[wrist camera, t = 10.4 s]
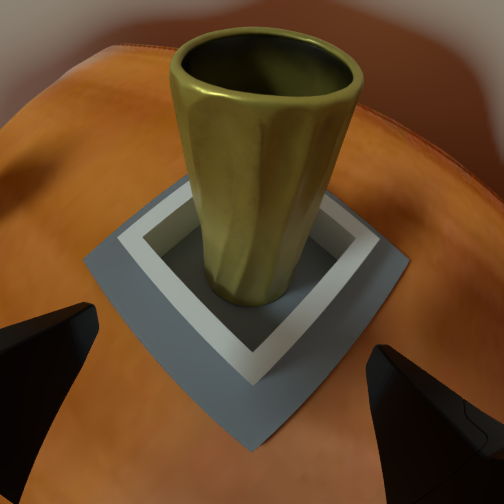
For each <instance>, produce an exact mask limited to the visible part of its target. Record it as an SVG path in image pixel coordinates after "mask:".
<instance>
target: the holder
mask: <svg viewBox="0 0 504 504" xmlns="http://www.w3.org/2000/svg"><path fill="white" fill-rule="evenodd" d="M83 261H84V263H85V264H86V266H87V267H88V269H89V271H90V272H91V274H92V275H93V277H94V278H95V280H96V281H97V283H98V284H99V286H100V287H101V289H102V290H103V292H104V293H105V295H106V296H107V298H108V299H109V301H110V302H111V303H112V305H113V306H114V308H115V309H116V310H117V312H118V313H119V314H120V316H121V317H122V318H123V320H124V321H125V322H126V324H127V325H128V326H129V328H130V329H131V330H132V331H133V333H134V334H135V335H136V337H137V338H138V339H139V340H140V342H141V343H142V344H143V345H144V346H145V348H146V349H147V350H148V351H149V352H150V354H151V355H152V356H153V357H154V358H155V359H156V361H157V362H158V363H159V364H160V365H161V366H162V367H163V369H164V370H165V371H166V372H167V373H168V374H169V375H170V376H171V377H172V378H173V380H174V381H175V382H176V383H177V384H178V385H179V386H180V387H181V388H182V389H183V390H184V391H185V392H186V393H187V394H188V395H189V396H190V397H191V398H192V399H193V400H194V401H195V402H196V403H197V404H198V405H199V406H200V407H201V408H202V409H203V410H204V411H205V412H206V413H207V414H208V415H209V416H210V417H211V418H212V419H213V420H215V421H216V422H217V423H218V424H219V425H220V426H221V427H222V428H223V429H225V430H226V431H227V432H228V433H229V434H230V435H231V436H233V437H234V438H235V439H236V440H237V441H238V442H240V443H241V444H242V445H243V446H244V447H246V448H247V449H248V450H249V451H251V452H253V451H254V450H255V449H256V448H257V447H259V446H260V445H261V444H262V443H263V442H264V441H265V440H266V439H267V438H268V437H270V436H271V435H272V434H273V433H274V432H275V431H276V430H277V429H278V428H279V427H280V426H281V425H282V424H283V423H284V422H285V421H286V420H287V419H288V418H289V417H290V416H291V415H292V414H293V413H294V412H295V411H296V410H297V409H298V408H299V407H300V406H301V405H302V404H303V403H304V402H305V400H306V399H307V398H308V397H309V396H310V395H311V394H312V393H313V392H314V391H315V390H316V388H317V387H318V386H319V385H320V384H321V383H322V382H323V381H324V379H325V378H326V377H327V376H328V375H329V374H330V372H331V371H332V370H333V369H334V368H335V366H336V365H337V364H338V363H339V362H340V360H341V359H342V358H343V357H344V355H345V354H346V353H347V352H348V350H349V349H350V348H351V346H352V345H353V344H354V343H355V341H356V340H357V339H358V337H359V336H360V335H361V333H362V332H363V331H364V329H365V328H366V326H367V325H368V324H369V322H370V321H371V320H372V318H373V317H374V315H375V314H376V312H377V311H378V310H379V308H380V307H381V305H382V304H383V302H384V301H385V299H386V298H387V296H388V295H389V293H390V292H391V290H392V288H393V287H394V285H395V284H396V282H397V281H398V279H399V277H400V276H401V274H402V272H403V271H404V269H405V267H406V266H407V264H408V262H409V261H410V260H409V259H408V258H407V257H406V256H405V255H404V254H402V253H401V252H400V251H399V250H398V249H397V248H396V247H395V246H394V245H393V244H391V243H390V242H389V241H388V240H387V239H386V238H385V237H384V236H382V235H381V234H380V233H379V232H378V231H377V230H376V229H374V228H373V227H372V226H371V225H370V224H369V223H367V222H366V221H365V220H364V219H363V218H361V217H360V216H359V215H358V214H357V213H355V212H354V211H353V210H352V209H350V208H349V207H348V206H347V205H345V204H344V203H343V202H342V201H340V200H339V199H338V198H337V197H335V196H334V195H333V194H332V193H330V192H329V191H328V190H326V191H325V194H324V197H323V199H322V202H321V205H320V208H319V210H318V213H317V215H316V218H315V221H314V223H313V226H312V228H311V231H310V233H309V235H308V238H307V240H306V243H305V245H304V248H303V251H302V254H301V256H300V259H299V261H298V263H297V265H296V267H295V273H294V277H293V280H292V282H291V284H290V285H289V287H288V288H287V290H286V291H285V292H284V293H283V294H282V295H281V296H280V297H278V298H277V299H275V300H274V301H272V302H270V303H268V304H265V305H261V306H250V307H248V306H240V305H236V304H233V303H231V302H229V301H227V300H225V299H224V298H222V297H221V296H219V295H218V294H217V293H216V292H215V291H214V290H213V289H212V288H211V286H210V284H209V282H208V280H207V278H206V275H205V271H204V250H203V238H202V230H201V224H200V220H199V217H198V214H197V211H196V207H195V203H194V200H193V196H192V191H191V186H190V182H189V177H188V174H187V175H185V176H184V177H183V178H181V179H180V180H178V181H177V182H176V183H174V184H173V185H172V186H170V187H169V188H168V189H166V190H165V191H164V192H162V193H161V194H160V195H158V196H157V197H156V198H155V199H153V200H152V201H151V202H149V203H148V204H147V205H146V206H144V207H143V208H142V209H141V210H139V211H138V212H137V213H136V214H134V215H133V216H132V217H131V218H129V219H128V220H127V221H126V222H125V223H123V224H122V225H121V226H120V227H119V228H118V229H116V230H115V231H114V232H113V233H112V234H111V235H109V236H108V237H107V238H106V239H105V240H104V241H103V242H101V243H100V244H99V245H98V246H97V247H96V248H95V249H94V250H93V251H92V252H90V253H89V254H88V255H87V256H86V257H85V258H84V259H83Z"/></svg>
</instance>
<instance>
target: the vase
mask: <svg viewBox="0 0 504 504" xmlns="http://www.w3.org/2000/svg"><path fill="white" fill-rule="evenodd" d="M169 80H170V88H171V94H172V98H173V102H174V108H175V113H176V118H177V123H178V129H179V134H180V138H181V143H182V147H183V152H184V157H185V162H186V167H187V172H188V177H189V182H190V186H191V191H192V196H193V200H194V203H195V207H196V211H197V214H198V217H199V220H200V224H201V230H202V238H203V250H204V271H205V275H206V278H207V280H208V282H209V284H210V286H211V288H212V289H213V290H214V291H215V292H216V293H217V294H218V295H219V296H221V297H222V298H224V299H225V300H227V301H229V302H231V303H233V304H236V305H240V306H248V307H250V306H261V305H265V304H268V303H270V302H272V301H274V300H275V299H277V298H278V297H280V296H281V295H282V294H283V293H284V292H285V291H286V290H287V288H288V287H289V285H290V284H291V282H292V280H293V277H294V273H295V267H296V265H297V263H298V261H299V259H300V256H301V254H302V251H303V248H304V245H305V243H306V240H307V238H308V235H309V233H310V231H311V228H312V226H313V223H314V221H315V218H316V215H317V213H318V210H319V208H320V205H321V202H322V199H323V197H324V194H325V191H326V189H327V186H328V183H329V181H330V178H331V175H332V172H333V169H334V166H335V164H336V161H337V158H338V155H339V152H340V149H341V146H342V143H343V141H344V138H345V135H346V132H347V129H348V127H349V124H350V121H351V118H352V116H353V113H354V110H355V107H356V104H357V101H358V99H359V96H360V94H361V91H362V88H363V83H364V79H363V73H362V71H361V69H360V67H359V65H358V64H357V63H356V61H355V60H354V59H353V58H351V57H350V56H349V55H348V54H346V53H345V52H343V51H342V50H340V49H339V48H337V47H335V46H334V45H332V44H330V43H328V42H326V41H323V40H321V39H318V38H316V37H313V36H310V35H306V34H303V33H298V32H294V31H289V30H283V29H277V28H266V27H241V28H231V29H225V30H220V31H214V32H210V33H207V34H204V35H201V36H199V37H196V38H194V39H192V40H190V41H188V42H187V43H185V44H184V45H182V46H181V47H180V48H179V49H178V50H177V52H176V53H175V54H174V56H173V58H172V60H171V63H170V71H169Z"/></svg>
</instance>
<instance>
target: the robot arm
mask: <svg viewBox="0 0 504 504" xmlns="http://www.w3.org/2000/svg"><path fill="white" fill-rule="evenodd" d="M98 331H99V322H98V317H97V311H96V307H95V305H93V304H91V303H87V302H82V303H78V304H75V305H72V306H69V307H66V308H63V309H60V310H57V311H54V312H51V313H47V314H44V315H41V316H38V317H35V318H32V319H29V320H26V321H23V322H20V323H17V324H14V325H10V326H7V327H4V328H1V329H0V495H2V496H3V497H5V498H6V499H7V500H9V501H10V502H12V503H13V504H19V502H20V499H21V496H22V493H23V490H24V488H25V485H26V482H27V480H28V477H29V474H30V472H31V469H32V467H33V465H34V462H35V460H36V457H37V455H38V453H39V450H40V448H41V446H42V444H43V441H44V439H45V437H46V435H47V433H48V431H49V429H50V427H51V425H52V423H53V420H54V418H55V416H56V414H57V413H58V411H59V409H60V407H61V405H62V403H63V401H64V399H65V397H66V395H67V393H68V392H69V390H70V388H71V386H72V384H73V382H74V381H75V379H76V377H77V375H78V374H79V372H80V370H81V368H82V366H83V364H84V362H85V360H86V358H87V355H88V353H89V351H90V349H91V346H92V344H93V342H94V340H95V338H96V336H97V334H98ZM366 377H367V385H368V393H369V403H370V410H371V415H372V420H373V425H374V429H375V434H376V439H377V444H378V450H379V455H380V461H381V467H382V473H383V479H384V486H385V493H386V501H387V504H504V424H502V423H500V422H498V421H497V420H495V419H493V418H492V417H490V416H489V415H487V414H485V413H484V412H482V411H481V410H479V409H478V408H476V407H475V406H473V405H472V404H470V403H469V402H468V401H466V400H465V399H463V398H462V397H461V396H459V395H458V394H456V393H455V392H454V391H452V390H451V389H449V388H448V387H447V386H445V385H444V384H442V383H441V382H440V381H438V380H437V379H435V378H434V377H433V376H431V375H430V374H428V373H427V372H426V371H424V370H423V369H421V368H420V367H419V366H417V365H416V364H414V363H413V362H412V361H410V360H409V359H407V358H406V357H404V356H403V355H402V354H400V353H399V352H397V351H396V350H395V349H393V348H392V347H390V346H389V345H386V344H377V345H376V346H375V347H374V348H373V351H372V353H371V355H370V357H369V360H368V362H367V364H366Z"/></svg>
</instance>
